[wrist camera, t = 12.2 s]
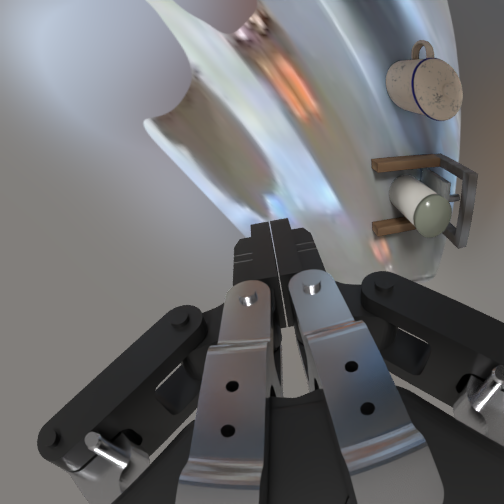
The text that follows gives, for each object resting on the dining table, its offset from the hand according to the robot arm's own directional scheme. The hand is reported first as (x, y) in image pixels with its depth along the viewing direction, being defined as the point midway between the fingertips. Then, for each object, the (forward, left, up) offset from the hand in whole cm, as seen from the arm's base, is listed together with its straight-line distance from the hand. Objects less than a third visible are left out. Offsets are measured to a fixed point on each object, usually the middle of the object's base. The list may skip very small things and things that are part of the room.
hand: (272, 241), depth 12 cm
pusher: (+14, +31, -31) cm, 46 cm away
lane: (+14, +24, -32) cm, 42 cm away
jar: (+14, +24, -32) cm, 42 cm away
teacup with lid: (-6, +26, -32) cm, 42 cm away
